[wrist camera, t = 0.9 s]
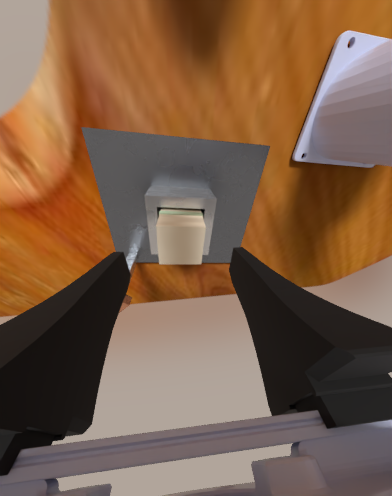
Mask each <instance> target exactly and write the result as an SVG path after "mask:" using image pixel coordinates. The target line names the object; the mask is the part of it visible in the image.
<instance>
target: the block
mask: <svg viewBox="0 0 392 496" xmlns="http://www.w3.org/2000/svg"><path fill="white" fill-rule="evenodd" d="M156 231H157V244H158V256H159V264H201V262H202V254H203V246H204V239H205V231H206V226H205V223H204V219H203V213H201V210H200V209H192V208H170V207H161V211H159V218H158V221H157V224H156Z"/></svg>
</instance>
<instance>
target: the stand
mask: <svg viewBox="0 0 392 496" xmlns="http://www.w3.org/2000/svg"><path fill="white" fill-rule="evenodd" d="M81 128H82V131H83V135H84V138H85V142H86V146H87V149H88V153H89V156H90V160H91V164H92V167H93V171H94V174H95V178H96V182H97V185H98V189H99V192H100V196H101V199H102V203H103V207H104V210H105V214H106V217H107V221H108V225H109V228H110V232H111V235H112V239H113V243H114V246H115V250H116V252H124V255H125V258H126V261H127V264H128V268H129V271H130V274H131V277H132V275H133V272H134V269H135V266H136V264H137V262H159V256H158V244H157V231H156V224H157V221H158V218H159V211H161V207H170V208H192V209H200V210H201V213H203V219H204V223H205V226H206V231H205V239H204V246H203V254H202V262H201V263H230V262H231V257H232V252H233V248H235V247H240V246H241V242H242V239H243V235H244V232H245V229H246V225H247V222H248V219H249V215H250V212H251V209H252V205H253V202H254V198H255V195H256V192H257V188H258V185H259V182H260V178H261V175H262V172H263V168H264V165H265V161H266V158H267V155H268V151H269V148H270V146H264V145H254V144H244V143H234V142H224V141H214V140H204V139H194V138H184V137H174V136H164V135H154V134H144V133H134V132H124V131H114V130H104V129H94V128H84V127H81ZM131 277H130V280H131ZM129 283H130V282H129ZM131 298H132V297H130V296H128V295H125V298H124V300H123V303H122V306H121V308H120V311H119V313H120V312H121V311H122V310H124V309H125V308H126V307H128V306H129V305H130V302H131Z"/></svg>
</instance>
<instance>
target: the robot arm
mask: <svg viewBox="0 0 392 496" xmlns="http://www.w3.org/2000/svg"><path fill="white" fill-rule="evenodd" d="M349 40H350V46H349V48H348V46H347V45H348V41H349ZM303 153H304V157H303V158H301V157H302V154H303ZM292 159H293V160H294V161H300V162H311V163H322V164H333V165H345V166H356V167H367V168H371V167H373V166H375V165H385V166H392V39H388V38H383V37H378V36H373V35H368V34H364V33H359V32H354V31H346V32H344V33H343V34H341V35H340V36H339V37H338V38H337V40H336V42H335V44H334V47H333V50H332V52H331V55H330V58H329V60H328V63H327V66H326V68H325V71H324V74H323V76H322V79H321V81H320V84H319V87H318V89H317V92H316V95H315V97H314V100H313V103H312V105H311V108H310V110H309V113H308V116H307V118H306V121H305V124H304V126H303V129H302V132H301V134H300V137H299V140H298V142H297V145H296V147H295V150H294V153H293V156H292ZM229 272H230V276H231V280H232V283H233V286H234V288H235V291H236V293H237V295H238V298H239V300H240V302H241V305H242V308H243V310H244V312H245V315H246V318H247V322H248V325H249V328H250V332H251V335H252V338H253V342H254V346H255V350H256V353H257V357H258V361H259V365H260V369H261V373H262V378H263V382H264V387H265V391H266V396H267V400H268V405H269V408H270V411H271V414H272V416H270V417H263V418H255V419H248V420H240V421H232V422H226V423H217V424H209V425H202V426H194V427H187V428H179V429H172V430H164V431H157V432H149V433H142V434H134V435H127V436H120V437H111V438H104V439H96V440H89V441H81V442H74V443H66V444H59V445H51V444H52V442H53V441H58V440H63V439H64V438H65V436H72V435H79V434H83V433H84V432H85V431H86V430H87V429H88V428H89V427H90V425H91V424H92V420H93V415H94V409H95V404H96V399H97V393H98V388H99V384H100V379H101V375H102V370H103V365H104V361H105V357H106V353H107V349H108V345H109V341H110V338H111V334H112V330H113V327H114V324H115V321H116V319H117V316H118V313H119V311H120V308H121V306H122V303H123V300H124V298H125V295H126V292H127V290H128V286H129V282H130V277H131V274H130V271H129V268H128V264H127V261H126V258H125V255H124V252H113V253H112V254H110V255H109V256H107V257H106V258H105V259H103V260H102V261H101V262H100V263H98V264H97V265H96V266H94V267H93V268H92V269H90V270H89V271H88V272H87V273H85V274H84V275H82V276H81V277H80V278H78V279H77V280H75V281H74V282H73V283H71V284H70V285H68V286H67V287H65V288H64V289H62V290H61V291H59V292H58V293H56V294H55V295H53V296H51V297H50V298H48V299H47V300H45V301H43V302H42V303H40V304H38V305H36V306H35V307H33V308H31V309H29V310H27V311H26V312H24V313H22V314H20V315H18V316H17V317H15V318H13V319H11V320H9V321H7V322H6V323H3V324H1V325H0V496H110V492H111V484H103V485H95V486H88V487H83V488H77V489H72V490H67V491H62V492H61V491H59V488H58V486H59V485H58V481H57V479H55V478H61V477H68V476H74V475H82V474H88V473H95V472H102V471H108V470H114V469H122V468H129V467H135V466H142V465H148V464H155V463H162V462H168V461H176V460H182V459H189V458H196V457H202V456H209V455H216V454H222V453H229V452H236V451H243V450H249V449H256V448H263V447H269V446H276V445H283V444H289V443H293V444H292V446H291V455H290V456H285V457H277V458H269V459H264V460H258V461H253V462H252V464H251V466H252V471H253V475H254V480H255V482H252V483H244V484H236V485H229V486H221V487H213V488H207V489H199V490H192V491H186V492H180V493H175V494H169V495H164V496H392V378H391V377H390V375H389V374H388V373H390V372H392V328H391V327H389V326H386V325H384V324H381V323H379V322H376V321H373V320H371V319H368V318H366V317H363V316H360V315H358V314H355V313H353V312H351V311H348V310H346V309H344V308H341V307H339V306H337V305H334V304H332V303H330V302H328V301H326V300H324V299H322V298H320V297H318V296H316V295H314V294H312V293H310V292H308V291H306V290H304V289H302V288H301V287H299V286H297V285H295V284H294V283H292V282H290V281H289V280H287V279H285V278H284V277H282V276H281V275H279V274H278V273H276V272H275V271H273V270H272V269H270V268H269V267H268V266H266V265H265V264H264V263H262V262H261V261H260V260H258V259H257V258H256V257H254V256H253V255H252V254H251V253H249V252H248V251H247V250H245V249H244V248H243V247H235V248H233V252H232V257H231V262H230V268H229Z"/></svg>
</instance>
